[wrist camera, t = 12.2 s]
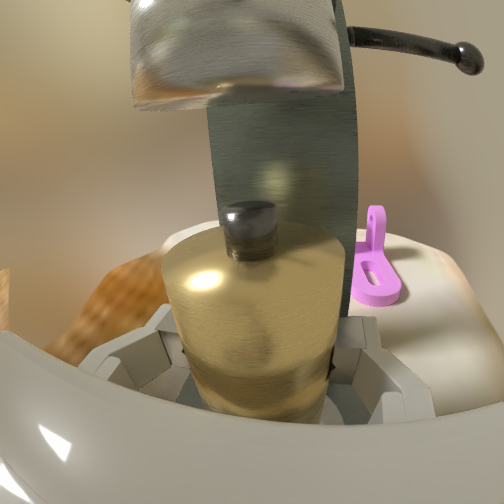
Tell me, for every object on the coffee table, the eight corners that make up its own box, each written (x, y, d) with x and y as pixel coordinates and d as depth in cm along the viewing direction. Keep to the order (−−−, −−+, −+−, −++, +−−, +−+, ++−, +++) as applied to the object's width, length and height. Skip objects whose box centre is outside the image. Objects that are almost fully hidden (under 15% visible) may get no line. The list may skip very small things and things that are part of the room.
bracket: (336, 251, 36) (337, 202, 33) (373, 250, 36) (378, 202, 33) (355, 309, 25) (362, 242, 22) (405, 305, 24) (419, 241, 21)
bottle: (196, 443, 10) (110, 236, 6) (241, 374, 14) (214, 187, 10) (300, 477, 8) (333, 260, 4) (329, 394, 12) (352, 191, 8)
